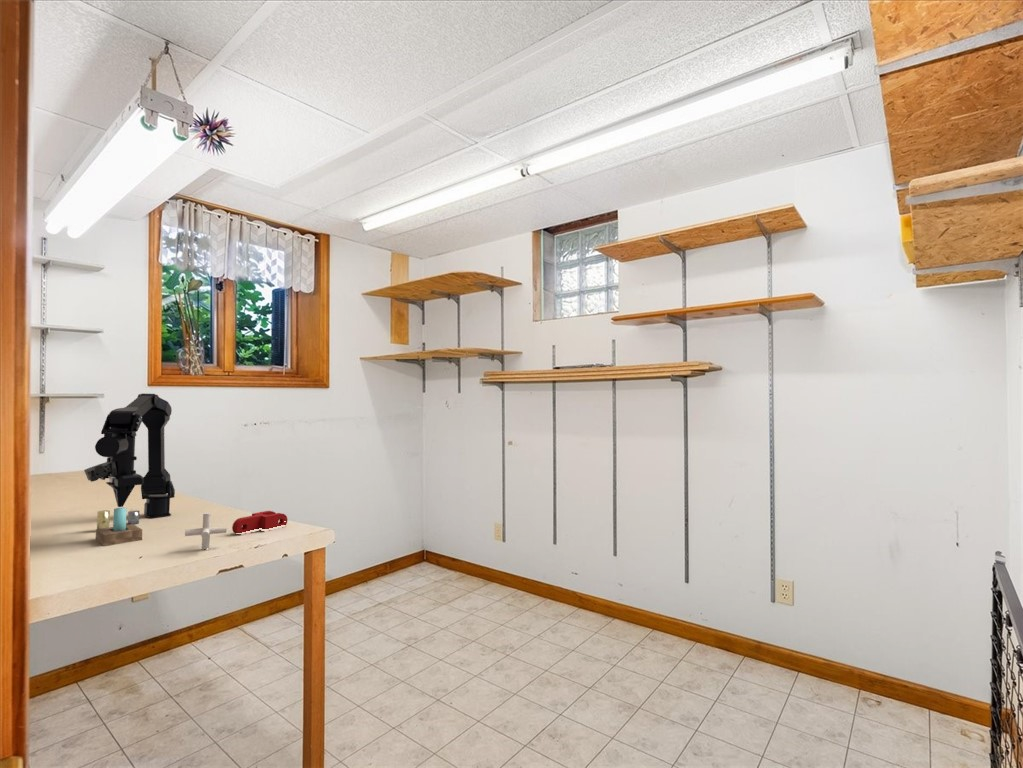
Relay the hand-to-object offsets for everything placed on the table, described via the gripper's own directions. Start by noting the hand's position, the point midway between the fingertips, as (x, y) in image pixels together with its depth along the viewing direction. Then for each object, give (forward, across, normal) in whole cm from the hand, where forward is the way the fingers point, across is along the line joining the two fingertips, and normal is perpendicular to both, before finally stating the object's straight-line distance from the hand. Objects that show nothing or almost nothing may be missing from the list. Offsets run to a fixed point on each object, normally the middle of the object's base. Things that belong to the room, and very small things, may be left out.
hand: (120, 506), depth 155 cm
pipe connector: (+10, +26, +14) cm, 31 cm away
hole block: (+10, 0, 0) cm, 10 cm away
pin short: (+10, -18, +8) cm, 23 cm away
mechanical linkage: (+10, +16, +33) cm, 38 cm away
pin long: (+10, 0, 0) cm, 10 cm away
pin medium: (+10, -14, 0) cm, 17 cm away
